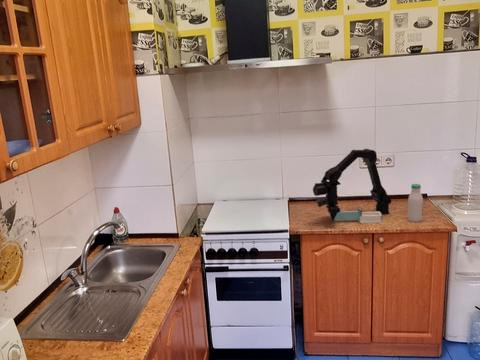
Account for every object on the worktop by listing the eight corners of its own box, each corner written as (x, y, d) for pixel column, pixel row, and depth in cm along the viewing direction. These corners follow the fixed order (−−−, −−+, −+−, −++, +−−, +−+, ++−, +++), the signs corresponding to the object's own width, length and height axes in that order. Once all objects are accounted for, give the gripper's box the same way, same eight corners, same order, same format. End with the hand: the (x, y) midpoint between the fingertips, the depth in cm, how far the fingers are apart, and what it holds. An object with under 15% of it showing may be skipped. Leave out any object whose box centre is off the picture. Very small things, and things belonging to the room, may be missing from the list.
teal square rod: (360, 218, 237) (360, 210, 236) (360, 219, 235) (360, 211, 234) (331, 219, 238) (331, 211, 237) (331, 220, 236) (331, 212, 235)
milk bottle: (421, 222, 227) (422, 187, 222) (406, 221, 231) (407, 185, 226) (423, 218, 233) (425, 183, 228) (408, 216, 237) (409, 182, 233)
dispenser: (379, 217, 239) (379, 205, 237) (382, 222, 231) (382, 210, 229) (357, 218, 240) (357, 206, 238) (360, 223, 232) (360, 211, 230)
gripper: (315, 189, 243) (316, 214, 247) (318, 198, 225) (319, 226, 229) (335, 188, 242) (335, 214, 246) (340, 197, 224) (340, 225, 228)
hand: (332, 219), depth 237 cm, fingers closed on teal square rod, 2 cm apart
